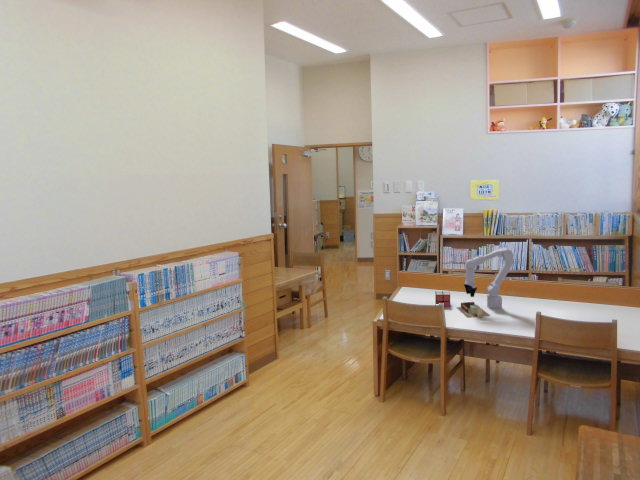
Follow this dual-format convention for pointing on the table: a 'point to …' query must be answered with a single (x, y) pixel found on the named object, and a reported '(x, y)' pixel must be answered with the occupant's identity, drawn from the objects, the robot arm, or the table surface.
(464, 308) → the shelf lane
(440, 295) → the puzzle cube
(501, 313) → the table surface
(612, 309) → the table surface
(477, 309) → the sage block
